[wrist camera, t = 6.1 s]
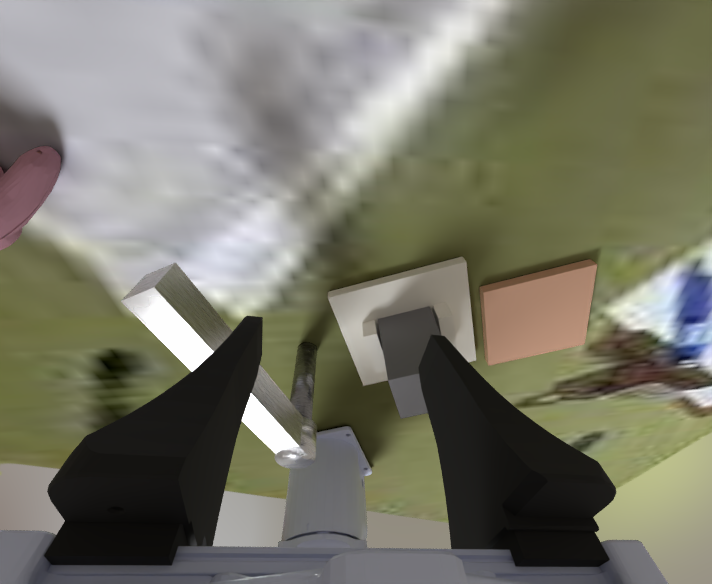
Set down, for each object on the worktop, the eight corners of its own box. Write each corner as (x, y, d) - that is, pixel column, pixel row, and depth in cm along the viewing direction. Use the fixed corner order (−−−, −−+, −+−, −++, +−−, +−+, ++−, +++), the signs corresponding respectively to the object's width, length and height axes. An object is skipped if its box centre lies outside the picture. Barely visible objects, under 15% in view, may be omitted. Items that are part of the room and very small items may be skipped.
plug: (436, 343, 26) (459, 406, 21) (389, 354, 27) (400, 418, 22) (429, 306, 24) (453, 365, 19) (377, 319, 25) (388, 380, 20)
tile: (578, 337, 28) (584, 344, 27) (485, 358, 29) (488, 365, 28) (590, 259, 24) (597, 264, 23) (479, 286, 24) (483, 292, 24)
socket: (472, 353, 28) (509, 427, 22) (318, 389, 30) (313, 467, 24) (462, 256, 23) (506, 320, 17) (274, 305, 25) (253, 380, 19)
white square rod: (183, 259, 14) (162, 284, 12) (323, 433, 22) (322, 462, 20) (138, 278, 14) (112, 304, 13) (291, 442, 22) (287, 472, 20)
